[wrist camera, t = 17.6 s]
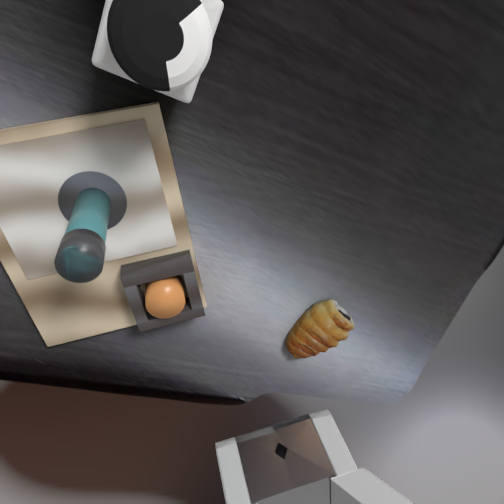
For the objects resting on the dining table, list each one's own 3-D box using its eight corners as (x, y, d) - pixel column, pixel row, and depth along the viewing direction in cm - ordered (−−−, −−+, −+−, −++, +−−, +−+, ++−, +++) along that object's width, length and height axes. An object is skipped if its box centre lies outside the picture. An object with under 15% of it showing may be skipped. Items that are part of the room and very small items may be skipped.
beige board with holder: (-59, 139, 33) (-78, 152, 30) (158, 101, 36) (160, 109, 33) (49, 340, 46) (43, 363, 43) (205, 301, 48) (210, 320, 45)
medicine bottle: (98, 55, 33) (81, 74, 23) (122, -42, 30) (114, -69, 20) (181, 90, 36) (198, 120, 26) (210, 4, 33) (242, 0, 23)
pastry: (303, 356, 57) (312, 377, 54) (272, 336, 54) (280, 356, 51) (352, 313, 55) (365, 332, 52) (324, 289, 52) (336, 307, 49)
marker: (70, 190, 37) (46, 250, 27) (105, 183, 37) (95, 239, 28) (82, 221, 38) (64, 287, 29) (116, 214, 39) (109, 277, 29)
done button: (140, 276, 43) (140, 292, 40) (178, 267, 43) (180, 283, 41) (150, 305, 45) (151, 322, 42) (185, 296, 45) (188, 313, 43)
